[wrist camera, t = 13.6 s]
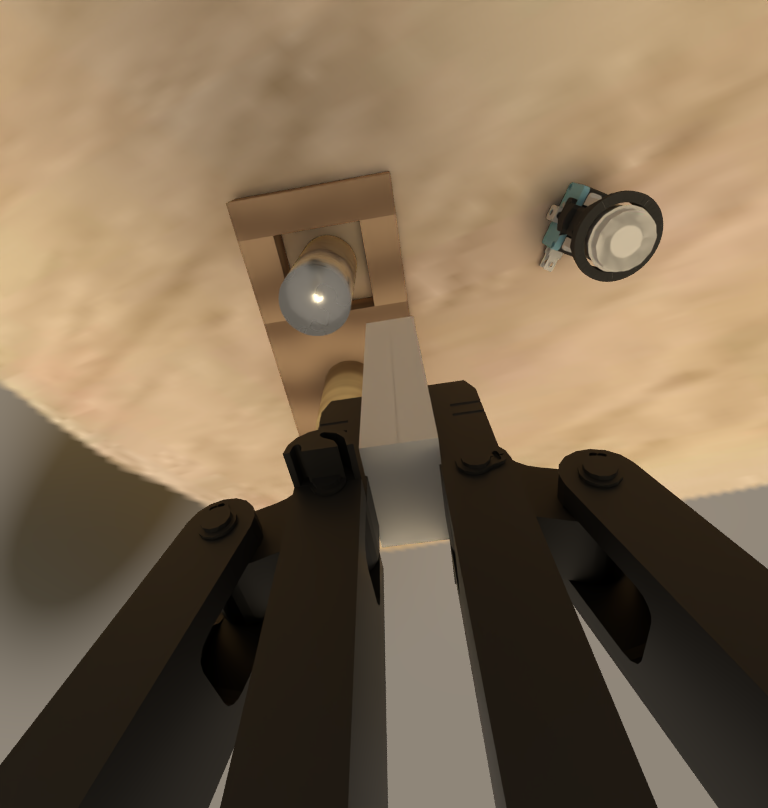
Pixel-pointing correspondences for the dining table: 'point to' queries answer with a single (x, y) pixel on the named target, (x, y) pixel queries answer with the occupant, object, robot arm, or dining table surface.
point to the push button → (603, 232)
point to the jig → (268, 267)
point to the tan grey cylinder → (319, 287)
